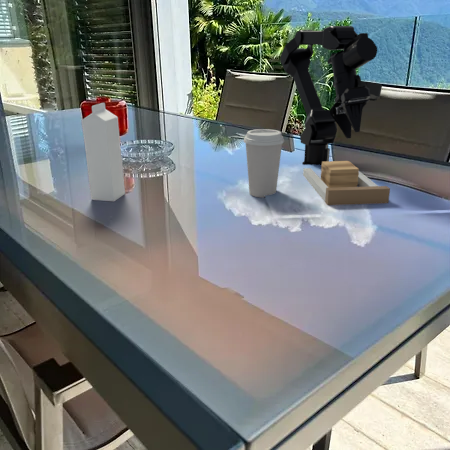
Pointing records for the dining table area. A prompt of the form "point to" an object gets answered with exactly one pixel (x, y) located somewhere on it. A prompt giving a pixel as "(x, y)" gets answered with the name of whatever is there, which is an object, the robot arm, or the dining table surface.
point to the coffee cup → (263, 160)
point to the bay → (348, 191)
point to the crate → (339, 174)
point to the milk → (103, 154)
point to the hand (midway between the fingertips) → (353, 135)
